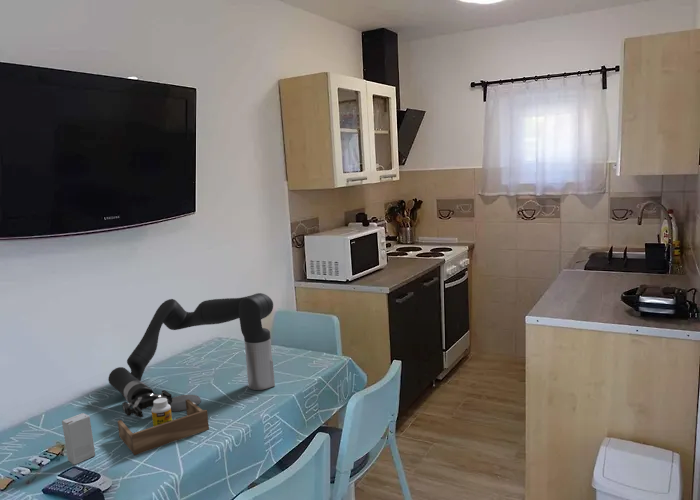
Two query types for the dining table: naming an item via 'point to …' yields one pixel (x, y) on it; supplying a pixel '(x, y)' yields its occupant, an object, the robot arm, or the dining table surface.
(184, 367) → the dining table surface
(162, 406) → the supplement bottle
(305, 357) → the dining table surface
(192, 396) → the slate pad
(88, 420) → the skincare box
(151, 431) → the brown wooden u-shaped piece
